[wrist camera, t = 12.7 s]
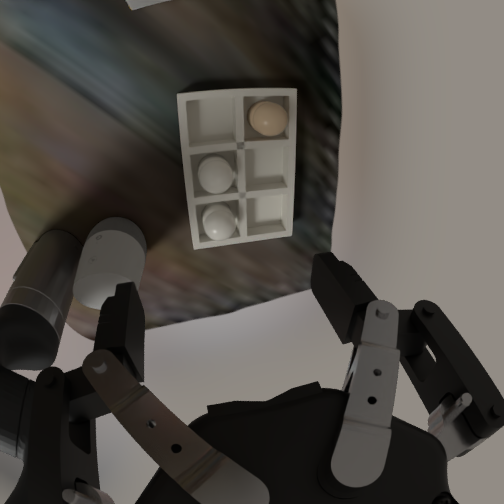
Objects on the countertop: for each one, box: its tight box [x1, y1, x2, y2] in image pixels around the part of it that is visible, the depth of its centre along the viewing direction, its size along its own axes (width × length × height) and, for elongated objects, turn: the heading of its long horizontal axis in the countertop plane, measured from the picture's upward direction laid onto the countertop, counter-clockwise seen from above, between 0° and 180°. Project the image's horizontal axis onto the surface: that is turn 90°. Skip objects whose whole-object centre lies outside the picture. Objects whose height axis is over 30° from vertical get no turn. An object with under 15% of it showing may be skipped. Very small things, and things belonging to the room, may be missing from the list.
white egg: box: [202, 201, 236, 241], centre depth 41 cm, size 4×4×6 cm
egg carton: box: [177, 88, 297, 249], centre depth 39 cm, size 15×22×3 cm
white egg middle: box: [197, 154, 233, 194], centre depth 37 cm, size 4×4×6 cm
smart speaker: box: [73, 217, 147, 309], centre depth 36 cm, size 10×9×14 cm
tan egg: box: [247, 101, 288, 136], centre depth 34 cm, size 4×4×6 cm
